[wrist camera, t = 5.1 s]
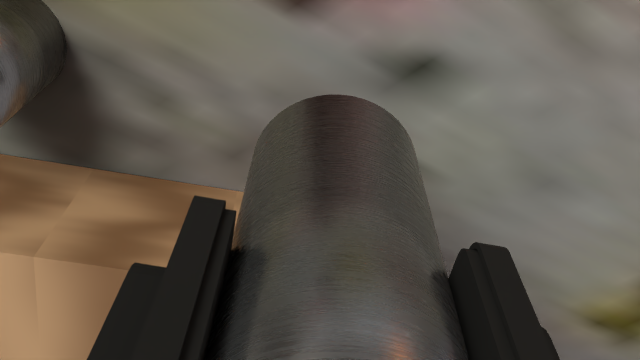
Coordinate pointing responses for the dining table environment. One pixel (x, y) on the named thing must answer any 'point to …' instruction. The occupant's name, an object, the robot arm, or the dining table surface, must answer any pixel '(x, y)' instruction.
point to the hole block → (78, 248)
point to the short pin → (27, 52)
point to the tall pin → (335, 245)
